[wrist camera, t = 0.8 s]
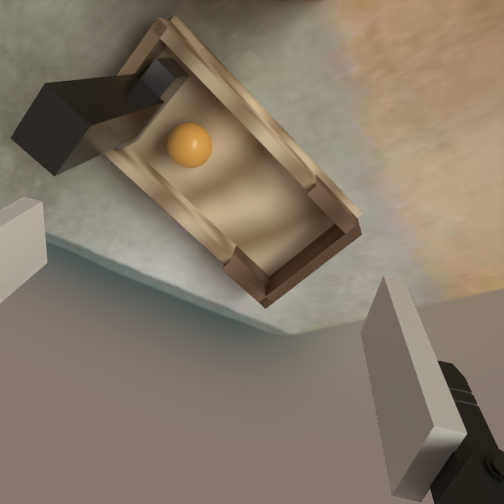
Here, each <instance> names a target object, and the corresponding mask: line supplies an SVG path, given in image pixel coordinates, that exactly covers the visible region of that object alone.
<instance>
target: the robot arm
mask: <svg viewBox="0 0 504 504" xmlns="http://www.w3.org/2000/svg"><path fill="white" fill-rule="evenodd" d="M46 263H47V253H46V240H45V227H44V214H43V201H40V200H35V199H31V198H26V197H22V198H20V199H18V200H16V201H14V202H13V203H11V204H9V205H7V206H5V207H3V208H2V209H0V303H1V302H2V301H3V300H5V299H6V298H7V297H8V296H9V295H10V294H11V293H13V292H14V291H15V290H16V289H17V288H18V287H20V286H21V285H22V284H23V283H24V282H25V281H27V280H28V279H29V278H30V277H31V276H32V275H34V274H35V273H36V272H37V271H38V270H39V269H40V268H42V267H43V266H44V265H45V264H46ZM361 336H362V341H363V346H364V352H365V357H366V361H367V367H368V372H369V378H370V383H371V388H372V394H373V399H374V404H375V409H376V415H377V420H378V425H379V430H380V435H381V440H382V446H383V451H384V456H385V462H386V467H387V472H388V477H389V483H390V488H391V493H392V495H393V496H397V497H401V498H406V499H410V500H414V501H418V502H421V501H422V500H423V498H424V497H425V495H426V494H427V492H428V491H429V489H431V493H432V497H433V500H434V504H504V452H503V451H501V450H500V449H499V448H498V446H497V444H496V442H495V440H494V438H493V436H492V434H491V431H490V429H489V428H488V425H487V423H486V421H485V419H484V417H483V415H482V413H481V411H480V408H479V407H477V402H476V400H475V398H474V396H473V395H472V394H471V393H472V391H471V390H470V387H469V385H468V383H467V381H466V379H465V377H464V376H463V375H462V374H461V373H460V372H459V371H458V369H457V368H456V367H455V366H454V365H453V364H451V363H447V362H442V361H438V360H437V359H436V357H435V354H434V352H433V349H432V347H431V344H430V342H429V340H428V337H427V335H426V332H425V330H424V328H423V325H422V323H421V320H420V318H419V316H418V313H417V311H416V308H415V306H414V303H413V301H412V298H411V296H410V294H409V291H408V289H407V286H406V284H405V281H404V280H402V279H397V278H393V277H388V276H383V278H382V281H381V283H380V286H379V288H378V291H377V293H376V296H375V298H374V301H373V303H372V306H371V308H370V311H369V313H368V315H367V318H366V320H365V323H364V325H363V328H362V330H361Z"/></svg>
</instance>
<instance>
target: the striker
mask: <svg viewBox="0 0 504 504" xmlns="http://www.w3.org/2000/svg"><path fill="white" fill-rule="evenodd" d="M188 77H189V75H188V74H187V73H186V72H185V71H184V70H183V69H182V68H181V67H180V66H179V64H178V63H177V62H176V61H175V60H174V59H173V58H156V59H155V60H154V62H153V63H152V64H151V66H150V67H149V68H148V70H147V71H146V72H145V74H144V75H143V76H142V78H140V77H139V76H138V75H137V74H128V75H119V76H109V77H100V78H90V79H81V80H71V81H62V82H52V83H45V84H44V86H43V87H42V89H41V90H40V92H39V94H38V95H37V97H36V98H35V100H34V102H33V103H32V105H31V106H30V108H29V110H28V111H27V113H26V114H25V116H24V117H23V119H22V121H21V122H20V124H19V125H18V127H17V129H16V130H15V132H14V133H13V135H12V137H11V139H12V140H13V141H14V142H15V143H17V144H18V145H19V146H20V147H21V148H22V149H24V150H25V151H26V152H27V153H28V154H29V155H30V156H32V157H33V158H34V159H35V160H36V161H37V162H38V163H40V164H41V165H42V166H43V167H44V168H45V169H47V170H48V171H49V172H50V173H51V174H52V175H53V176H56V175H58V174H60V173H62V172H64V171H67V170H69V169H71V168H73V167H75V166H77V165H79V164H82V163H84V162H86V161H88V160H90V159H92V158H94V157H97V156H99V155H101V154H103V153H105V152H107V151H109V150H112V149H114V148H116V149H117V150H120V149H122V148H124V147H126V146H128V145H130V144H132V143H134V142H136V141H137V140H138V139H139V138H140V137H141V135H142V134H143V133H144V132H145V130H146V129H147V128H148V127H149V125H150V124H151V123H152V122H153V121H154V119H155V118H156V117H157V116H158V114H159V113H160V112H161V111H162V109H163V108H164V107H165V106H166V104H167V103H168V102H169V101H170V100H171V98H172V97H173V96H174V95H175V93H176V92H177V91H178V90H179V88H180V87H181V86H182V85H183V83H184V82H185V81H186V80H187V79H188Z"/></svg>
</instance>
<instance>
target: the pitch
mask: <svg viewBox="0 0 504 504" xmlns="http://www.w3.org/2000/svg"><path fill="white" fill-rule="evenodd" d="M156 58H173V59H174V60H175V61H176V62H177V63H178V64H179V66H180V67H181V68H182V69H183V70H184V71H185V72H186V73H187V74H188V75H189V77H188V79H187V80H186V81H185V82H184V83H183V85H182V86H181V87H180V88H179V90H178V91H177V92H176V93H175V95H174V96H173V97H172V98H171V100H170V101H169V102H168V103H167V104H166V106H165V107H164V108H163V109H162V111H161V112H160V113H159V114H158V116H157V117H156V118H155V119H154V121H153V122H152V123H151V124H150V125H149V127H148V128H147V129H146V130H145V132H144V133H143V134H142V135H141V137H140V138H139V139H138V140H137V141H136V142H134V143H132V144H130V145H128V146H126V147H124V148H122V149H120V150H117V149H116V148H114V149H112V150H109V151H107V152H105V153H103V154H104V155H105V156H106V157H107V158H108V159H110V160H111V161H112V162H113V163H114V164H115V165H116V166H117V167H118V168H119V169H120V170H122V171H123V172H124V173H125V174H126V175H127V176H128V177H129V178H130V179H131V180H133V181H134V182H135V183H136V184H137V185H138V186H139V187H140V188H141V189H142V190H143V191H145V192H146V193H147V194H148V195H149V196H150V197H151V198H152V199H153V200H154V201H155V202H157V203H158V204H159V205H160V206H161V207H162V208H163V209H164V210H165V211H166V212H167V213H169V214H170V215H171V216H172V217H173V218H174V219H175V220H176V221H177V222H178V223H180V224H181V225H182V226H183V227H184V228H185V229H186V230H187V231H188V232H189V233H190V234H192V235H193V236H194V237H195V238H196V239H197V240H198V241H199V242H200V243H201V244H202V245H204V246H205V247H206V248H207V249H208V250H209V251H210V252H211V253H212V254H213V255H215V256H216V257H217V258H218V259H219V260H220V261H221V262H222V263H223V264H224V266H223V268H222V269H223V270H224V271H225V272H226V273H227V274H228V275H229V276H230V277H231V278H232V279H234V280H235V281H236V282H237V283H238V284H239V285H240V286H241V287H242V288H243V289H245V290H246V291H247V292H248V293H249V294H250V295H251V296H252V297H253V298H254V299H256V300H257V301H258V302H259V303H260V304H261V305H262V306H263V307H264V308H265V309H266V308H267V307H268V306H270V305H271V304H272V303H274V302H275V301H276V300H278V299H279V298H280V297H281V296H283V295H284V294H285V293H287V292H288V291H289V290H290V289H292V288H293V287H294V286H296V285H297V284H298V283H300V282H301V281H302V280H303V279H305V278H306V277H307V276H309V275H310V274H311V273H313V272H314V271H315V270H316V269H318V268H319V267H320V266H322V265H323V264H324V263H325V262H327V261H328V260H329V259H331V258H332V257H333V256H335V255H336V254H337V253H338V252H340V251H341V250H342V249H344V248H345V247H346V246H348V245H349V244H350V243H351V242H353V241H354V240H355V239H357V238H358V237H359V236H361V235H362V233H361V229H360V226H359V222H358V217H359V216H361V215H362V214H361V211H360V210H359V209H358V208H357V207H356V206H355V205H354V204H353V203H352V202H351V200H350V199H349V198H348V197H347V196H346V195H345V194H344V193H343V192H342V191H341V190H340V189H339V188H338V187H337V186H336V185H335V183H334V182H333V181H332V180H331V179H330V178H329V177H328V176H327V175H326V174H325V173H324V172H323V171H322V170H321V169H320V167H319V166H318V165H317V164H316V163H315V162H314V161H313V160H312V159H311V158H310V157H309V156H308V155H307V154H306V153H305V151H304V150H303V149H302V148H301V147H300V146H299V145H298V144H297V143H296V142H295V141H294V140H293V139H292V138H291V137H290V136H289V134H288V133H287V132H286V131H285V130H284V129H283V128H282V127H281V126H280V125H279V124H278V123H277V122H276V121H275V120H274V118H273V117H272V116H271V115H270V114H269V113H268V112H267V111H266V110H265V109H264V108H263V107H262V106H261V105H260V104H259V103H258V101H257V100H256V99H255V98H254V97H253V96H252V95H251V94H250V93H249V92H248V91H247V90H246V89H245V88H244V87H243V85H242V84H241V83H240V82H239V81H238V80H237V79H236V78H235V77H234V76H233V75H232V74H231V73H230V72H229V71H228V70H227V68H226V67H225V66H224V65H223V64H222V63H221V62H220V61H219V60H218V59H217V58H216V57H215V56H214V55H213V54H212V52H211V51H210V50H209V49H208V48H207V47H206V46H205V45H204V44H203V43H202V42H201V41H200V40H199V39H198V38H197V36H196V35H195V34H194V33H193V32H192V31H191V30H190V29H189V28H188V27H187V26H186V25H185V24H184V23H183V22H182V21H181V19H180V18H179V17H178V16H173V18H172V19H171V20H167V19H162V18H157V19H156V21H155V22H154V24H153V25H152V26H151V28H150V29H149V31H148V32H147V33H146V35H145V36H144V38H143V39H142V40H141V42H140V43H139V45H138V46H137V47H136V49H135V50H134V52H133V53H132V54H131V56H130V57H129V59H128V60H127V61H126V63H125V64H124V66H123V67H122V68H121V70H120V71H119V73H118V74H117V76H119V75H128V74H137V75H138V76H139V77H140V78H142V76H143V75H144V74H145V72H146V71H147V70H148V68H149V67H150V66H151V64H152V63H153V62H154V60H155V59H156ZM185 122H192V123H196V124H199V125H201V126H202V127H203V128H204V129H205V130H206V131H207V132H208V133H209V135H210V137H211V140H212V152H211V155H210V157H209V159H208V160H207V161H206V162H205V163H204V164H203V165H201V166H199V167H197V168H184V167H181V166H179V165H178V164H176V163H175V162H174V161H173V160H172V158H171V157H170V155H169V153H168V149H167V140H168V136H169V134H170V132H171V131H172V130H173V129H174V128H175V127H176V126H177V125H179V124H181V123H185Z"/></svg>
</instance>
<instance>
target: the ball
mask: <svg viewBox="0 0 504 504" xmlns="http://www.w3.org/2000/svg"><path fill="white" fill-rule="evenodd" d="M167 149H168V153H169V155H170V157H171V158H172V160H173V161H174V162H175V163H176V164H178V165H179V166H181V167H184V168H197V167H199V166H201V165H203V164H204V163H205V162H206V161H207V160H208V159H209V157H210V155H211V152H212V140H211V137H210V135H209V133H208V132H207V131H206V130H205V129H204V128H203V127H202V126H201V125H199V124H196V123H192V122H185V123H181V124H179V125H177V126H176V127H175V128H174V129H173V130H172V131H171V132H170V134H169V136H168V140H167Z"/></svg>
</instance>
